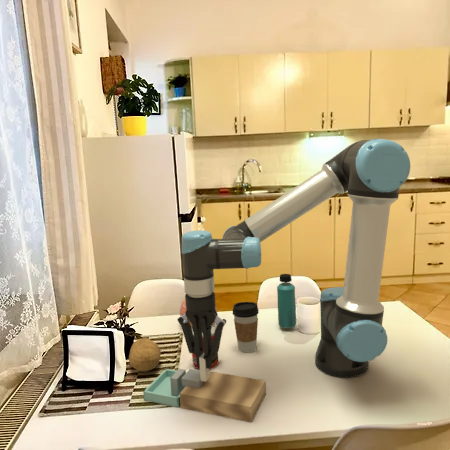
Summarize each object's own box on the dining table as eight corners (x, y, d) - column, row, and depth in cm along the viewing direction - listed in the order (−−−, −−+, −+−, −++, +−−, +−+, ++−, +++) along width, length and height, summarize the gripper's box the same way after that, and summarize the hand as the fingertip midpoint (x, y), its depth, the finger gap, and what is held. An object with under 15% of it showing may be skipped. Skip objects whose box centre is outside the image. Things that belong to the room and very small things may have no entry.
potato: (157, 353, 135) (155, 330, 134) (166, 374, 122) (164, 349, 121) (126, 360, 132) (124, 336, 130) (132, 382, 119) (129, 356, 117)
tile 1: (185, 369, 113) (179, 368, 114) (176, 379, 109) (170, 377, 110) (186, 386, 114) (180, 385, 115) (178, 396, 110) (171, 395, 110)
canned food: (215, 371, 122) (213, 336, 120) (189, 369, 124) (187, 335, 122) (221, 358, 130) (219, 325, 128) (196, 357, 131) (194, 324, 129)
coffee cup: (252, 356, 130) (250, 311, 127) (229, 351, 134) (227, 307, 131) (264, 345, 137) (262, 302, 134) (242, 340, 141) (240, 298, 138)
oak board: (265, 394, 110) (265, 380, 109) (251, 422, 99) (251, 407, 98) (200, 382, 117) (199, 369, 116) (180, 407, 106) (179, 393, 105)
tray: (199, 382, 117) (198, 374, 116) (179, 407, 106) (178, 398, 106) (166, 376, 121) (165, 368, 120) (144, 400, 110) (143, 391, 109)
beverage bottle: (298, 332, 145) (296, 277, 142) (279, 332, 145) (277, 278, 142) (295, 324, 152) (293, 271, 148) (277, 325, 152) (275, 272, 148)
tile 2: (207, 378, 111) (206, 371, 111) (199, 388, 107) (198, 381, 106) (190, 375, 113) (190, 368, 113) (182, 385, 109) (181, 378, 108)
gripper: (229, 289, 105) (233, 374, 109) (183, 285, 110) (189, 367, 114) (218, 299, 98) (223, 390, 103) (169, 295, 103) (176, 382, 107)
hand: (205, 378), depth 108 cm, fingers closed
